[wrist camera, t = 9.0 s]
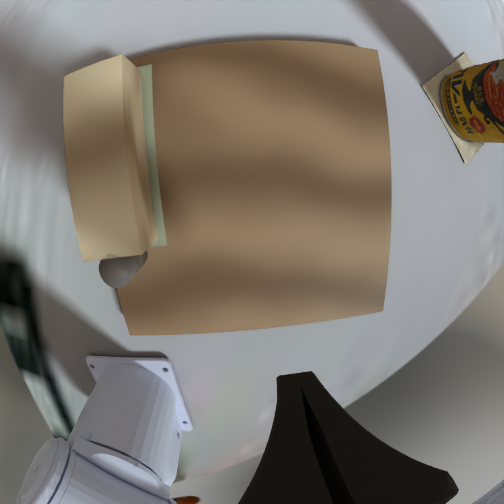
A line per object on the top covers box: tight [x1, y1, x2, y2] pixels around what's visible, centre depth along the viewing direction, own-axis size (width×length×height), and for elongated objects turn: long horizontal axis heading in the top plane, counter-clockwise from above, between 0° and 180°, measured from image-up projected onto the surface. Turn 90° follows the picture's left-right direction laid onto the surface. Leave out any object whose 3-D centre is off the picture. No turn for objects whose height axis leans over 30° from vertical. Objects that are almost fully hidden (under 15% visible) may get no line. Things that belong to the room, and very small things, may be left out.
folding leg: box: [63, 54, 158, 288], centre depth 13 cm, size 12×4×3 cm, turn 6°
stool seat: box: [116, 40, 391, 335], centre depth 16 cm, size 18×18×2 cm
